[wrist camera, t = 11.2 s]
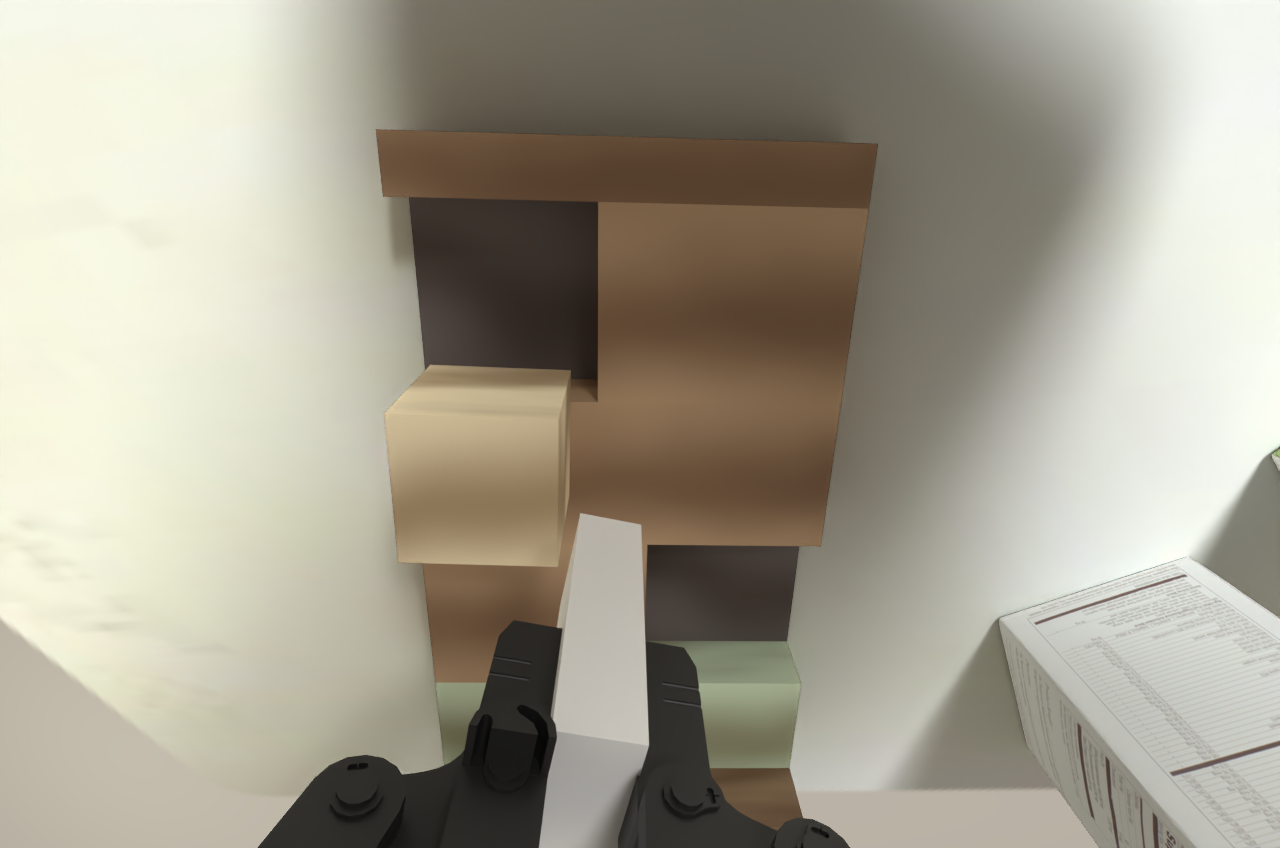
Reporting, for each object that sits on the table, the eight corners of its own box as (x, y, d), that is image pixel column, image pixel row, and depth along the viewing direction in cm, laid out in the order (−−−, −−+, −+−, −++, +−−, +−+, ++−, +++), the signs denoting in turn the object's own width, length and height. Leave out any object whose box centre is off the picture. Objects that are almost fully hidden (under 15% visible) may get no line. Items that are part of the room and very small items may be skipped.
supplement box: (1022, 749, 36) (1339, 1214, 20) (990, 615, 32) (1339, 1044, 17) (1209, 694, 34) (1700, 1140, 19) (1195, 550, 31) (1773, 943, 16)
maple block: (430, 364, 24) (384, 413, 19) (570, 370, 24) (558, 420, 20) (438, 490, 26) (398, 562, 21) (569, 494, 26) (557, 567, 21)
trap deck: (404, 133, 24) (338, 124, 18) (848, 145, 24) (915, 140, 19) (460, 733, 34) (429, 845, 29) (773, 733, 35) (802, 843, 29)
